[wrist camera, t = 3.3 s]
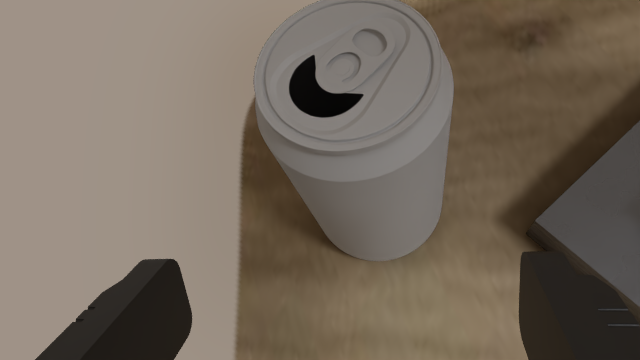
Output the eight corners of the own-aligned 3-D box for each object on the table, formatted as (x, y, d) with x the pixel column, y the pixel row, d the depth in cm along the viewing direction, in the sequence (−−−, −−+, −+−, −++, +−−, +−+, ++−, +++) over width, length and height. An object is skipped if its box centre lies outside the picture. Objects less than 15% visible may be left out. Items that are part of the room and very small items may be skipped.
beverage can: (296, 206, 25) (200, 75, 14) (380, 129, 26) (348, -49, 15) (378, 292, 22) (336, 209, 12) (469, 202, 23) (507, 50, 13)
